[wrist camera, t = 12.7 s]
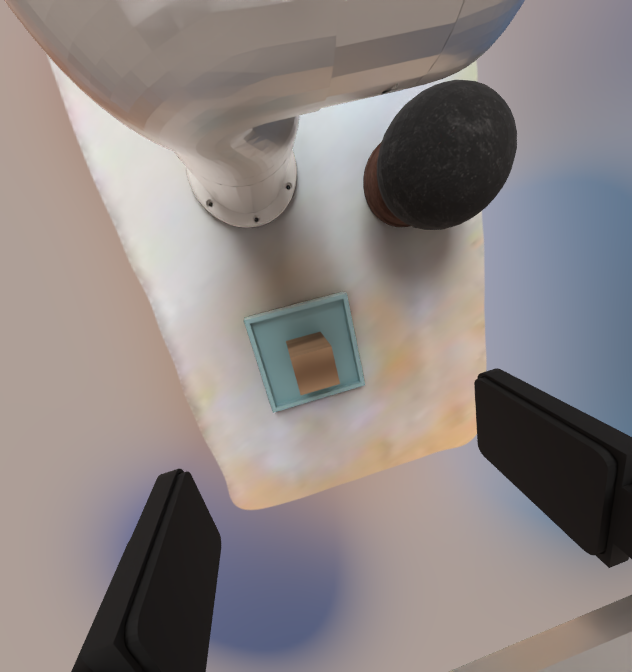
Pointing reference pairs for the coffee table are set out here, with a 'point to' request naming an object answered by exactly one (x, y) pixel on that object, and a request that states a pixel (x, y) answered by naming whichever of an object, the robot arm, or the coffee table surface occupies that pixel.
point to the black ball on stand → (442, 157)
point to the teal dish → (296, 322)
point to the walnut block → (313, 362)
